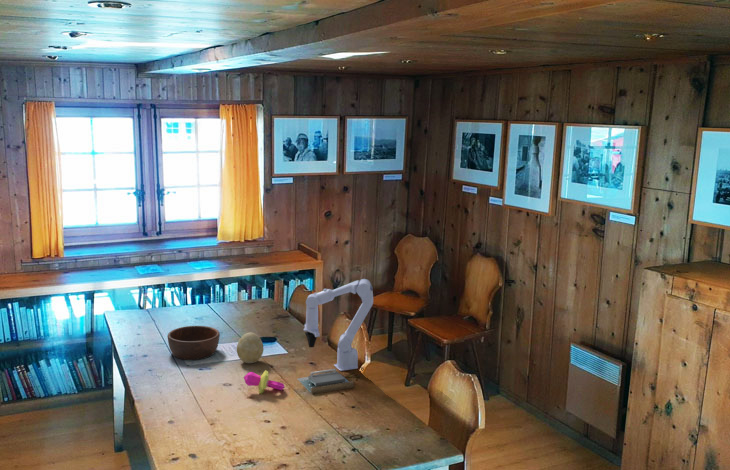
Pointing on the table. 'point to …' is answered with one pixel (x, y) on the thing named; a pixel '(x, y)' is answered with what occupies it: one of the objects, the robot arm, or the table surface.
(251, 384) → the toy
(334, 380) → the cabinet door with handle
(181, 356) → the wooden bowl
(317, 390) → the dock bay
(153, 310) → the table surface
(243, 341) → the fossilized egg
